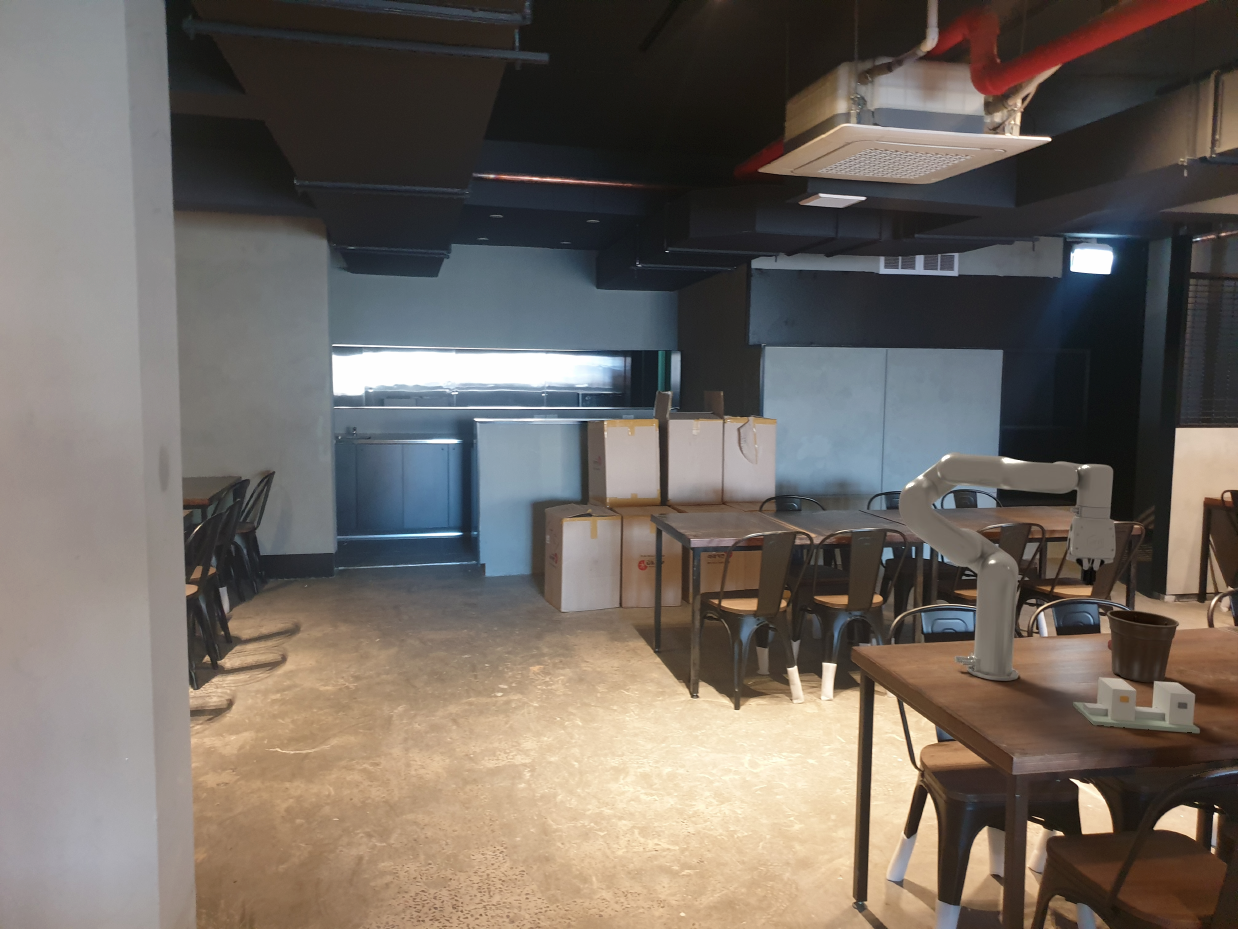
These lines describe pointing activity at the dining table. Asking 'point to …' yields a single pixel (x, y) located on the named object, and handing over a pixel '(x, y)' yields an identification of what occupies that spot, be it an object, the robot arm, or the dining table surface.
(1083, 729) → the dining table surface
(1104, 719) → the din panel
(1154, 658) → the plant pot
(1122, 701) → the block
